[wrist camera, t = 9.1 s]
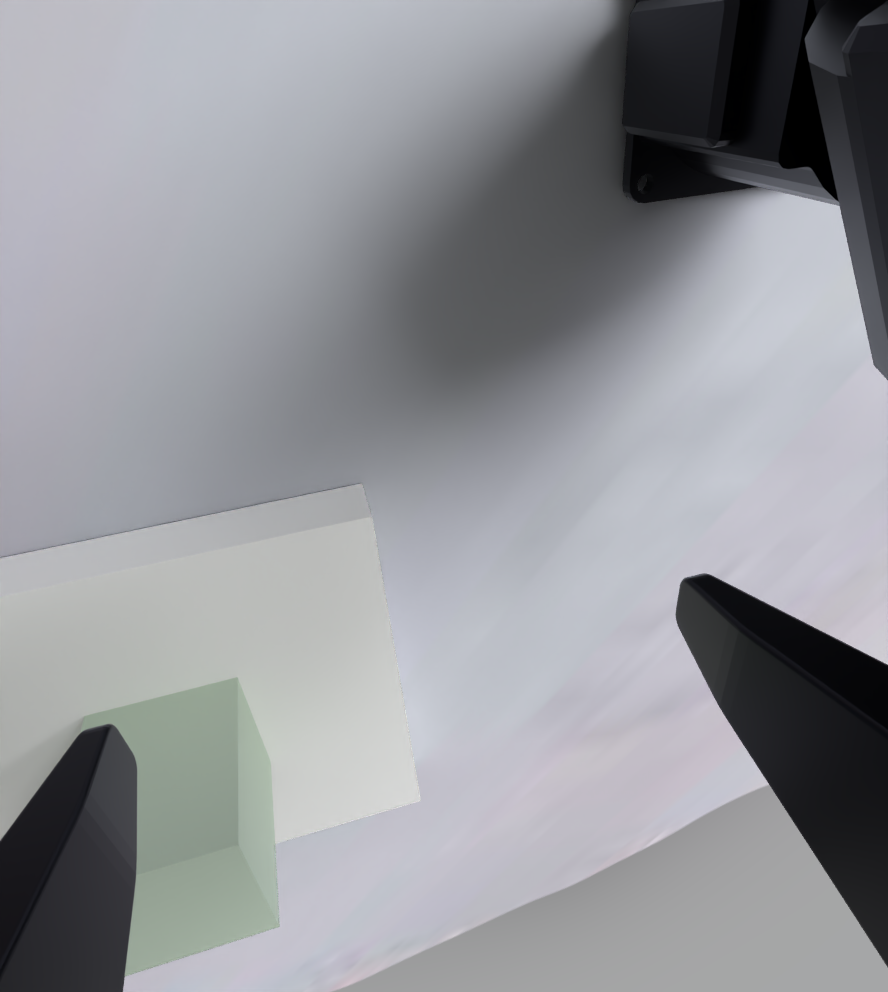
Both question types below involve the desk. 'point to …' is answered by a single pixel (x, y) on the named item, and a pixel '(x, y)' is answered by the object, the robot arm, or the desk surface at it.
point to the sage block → (198, 823)
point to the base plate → (217, 648)
